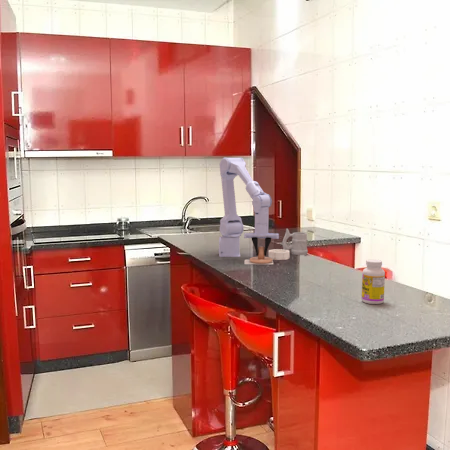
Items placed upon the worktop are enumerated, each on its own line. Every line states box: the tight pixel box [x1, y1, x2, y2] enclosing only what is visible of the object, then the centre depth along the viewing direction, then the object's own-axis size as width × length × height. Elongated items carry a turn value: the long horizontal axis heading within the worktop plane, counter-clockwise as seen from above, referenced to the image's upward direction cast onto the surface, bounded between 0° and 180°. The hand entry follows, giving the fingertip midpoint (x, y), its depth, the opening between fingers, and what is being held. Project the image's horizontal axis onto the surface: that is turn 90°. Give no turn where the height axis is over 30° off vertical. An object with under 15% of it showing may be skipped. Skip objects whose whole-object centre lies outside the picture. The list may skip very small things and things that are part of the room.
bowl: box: [267, 248, 291, 261], centre depth 242 cm, size 9×9×4 cm
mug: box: [281, 228, 309, 256], centre depth 253 cm, size 8×12×12 cm, turn 96°
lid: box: [249, 246, 273, 263], centre depth 232 cm, size 10×10×6 cm
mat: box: [244, 259, 274, 265], centre depth 233 cm, size 12×10×1 cm
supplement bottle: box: [361, 259, 386, 305], centre depth 169 cm, size 7×7×13 cm
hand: (261, 255), depth 232 cm, fingers closed on lid, 3 cm apart
